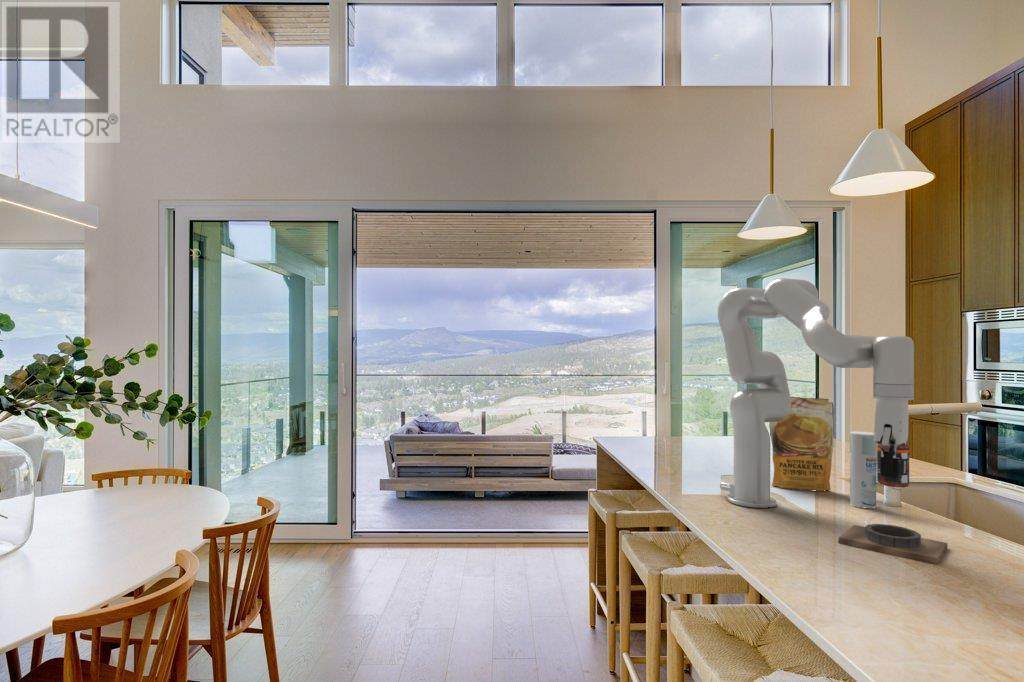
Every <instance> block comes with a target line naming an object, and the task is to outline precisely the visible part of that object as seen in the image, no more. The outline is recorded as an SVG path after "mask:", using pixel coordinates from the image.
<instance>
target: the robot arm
mask: <svg viewBox="0 0 1024 682" xmlns="http://www.w3.org/2000/svg"><path fill="white" fill-rule="evenodd" d="M830 313H831V312H830V307H829V305H827V304H826V303H825V302H824V301H822V300H821V299H819V291H818V289H817V287H816V285H814V283H812V282H811V281H808V280H805V279H800V278H799V279H796V278H787V277H786V278H785V277H783V278H777V279H773V280H772V281H771V282H768V284H767V285H766V287H765V288H758V287H757V288H756V287H736V288H732V289H730V290H729V291H727V292H725V293H724V294H723V296H722V297H721V299H720V300H719V303H718V307H717V319H718V324H719V328H720V330H721V333H722V336H723V341H724V348H725V353H726V359H727V363H728V371H729V373H730V377H731V379H732V380H733V382H735V383H737V384H739V385H757V387H758V388H746V389H741V390H739V391H737V392H736V393H734V394H733V396H732V397H731V399H730V403H729V404H730V405H729V407H730V408H729V409H730V415H731V420H732V428H733V482H731V483H728V482H723V481H721V482H720V484H719V489H720V490H721V491H726V492H728V493H729V494H728V495H727V501H728V502H730V503H731V504H734V505H737V506H741V507H747V508H755V509H767V508H768V507H769V508H774V507H776V506H777V500H776V498H774V497H772V496H771V435H770V431H768V427H767V426H766V423H769V422H776V421H781V420H784V419H785V418H786V417H787V416H788V415H789V413H790V410H791V398H790V397H791V395H790V390H789V389H790V388H789V384H788V383H789V382H788V377H787V373H786V369H785V366H784V363H783V361H782V359H781V358H780V357H779V356H778V355H777V354H776V353H774V352H772V351H768V350H767V351H766V350H759V347H758V343H757V337H756V334H755V332H754V330H753V328H752V326H751V325H750V323H749V322H748V321H747V319H748V318H749V319H776V318H781V317H783V318H785V319H786V320H787V321H788V322H790V323H792V324H793V326H795V327H796V328H798V329H799V330H800V331H801V335H802V338H803V340H804V342H805V344H806V345H807V347H808V348H809V349H810V350H812V352H814V353H815V354H816V355H817V356H819V358H821V359H823V360H824V361H825V362H826V363H828V364H830V365H832V366H834V367H836V368H840V369H854V368H855V369H871V368H872V398H873V399H876V402H875V403H876V405H875V414H874V432H873V433H874V442H875V443H877V445H878V443H881V442H882V449H881V475H882V476H887V477H895V478H897V477H898V476H899V459H897V449H898V445H901V444H902V443H904V442H905V443H907V442H908V440H909V439H908V438H909V401H913V400H914V399H915V398H914V397H915V395H914V393H915V389H914V387H915V384H914V383H915V382H914V380H915V379H914V376H915V371H914V370H915V367H914V366H915V361H914V360H915V347H914V345H915V344H914V341H913V339H912V337H909V336H906V335H901V336H900V335H885V336H884V335H882V336H874V335H873V336H872V335H859V334H855V335H853V334H844V333H842V332H841V331H839V330H838V329H837V328H835V327H834V326H832V325H831V324H830V323H829V322H828V321H827V320H828V318H829V316H830ZM882 435H883V438H882ZM890 441H892V442H895V444H892V443H890ZM892 447H893V448H894V449H892Z"/></svg>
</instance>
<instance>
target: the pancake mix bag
mask: <svg viewBox="0 0 1024 682" xmlns="http://www.w3.org/2000/svg"><path fill="white" fill-rule="evenodd" d="M790 398H791V410H790V413H789V415H788V416H787V417H786V418H785V419H784V420H781V421H776V422H768V423H769V435H770V442H771V447H772V449H771V450H772V463H773V478H772V483H771V487H775V486H778V487H777V488H779V487H781V488H780V489H785V488H788V489H787V490H795V489H802V490H801V491H808V490H816V491H815V492H819V491H824V490H831V491H832V488H831V483H830V479H831V475H832V474H831V473H832V472H831V471H832V463H833V461H832V460H833V453H834V452H833V451H834V445H835V443H834V438H835V418H834V416H835V415H834V413H835V409H834V402H832V401H830V399H829V398H823V397H822V398H819V397H818V398H817V397H816V398H815V397H813V398H812V397H801V396H790ZM824 492H825V491H824Z"/></svg>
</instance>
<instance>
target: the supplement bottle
mask: <svg viewBox="0 0 1024 682" xmlns="http://www.w3.org/2000/svg"><path fill="white" fill-rule="evenodd" d="M882 438H883V435H882ZM890 443H892V444H895V442H892V441H890ZM881 449H882V442H881V443H878V444H877V479H876V482H877V483H878V484H879V485H882V486H884V487H885V486H886V487H891V488H908V487H909V486H910V447H909V445H908V444H906V442H904V443H902V444H901V445H898V449H897V459H899V476H898V477H897V478H895V477H887V476H882V475H881ZM892 449H894V448H893V447H892Z"/></svg>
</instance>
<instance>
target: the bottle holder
mask: <svg viewBox="0 0 1024 682" xmlns="http://www.w3.org/2000/svg"><path fill="white" fill-rule="evenodd" d="M837 542H838V543H839V544H843V545H846V544H847V545H848V546H851V545H853V546H852V547H855V546H857V548H860V547H861V548H860V549H865V548H866V549H867V550H869V549H871V550H870V551H874V550H875V552H878V551H879V552H880V553H884V554H888V555H893V556H897V557H901V558H902V557H903V558H906V559H909V560H910V559H911V560H916V561H921V562H926V563H929V564H934V565H939V563H940V561H941V560H942V558H943V557H944V555H945V553H946V552H947V550H948V542H944V541H938V540H934V539H930V538H929V539H928V538H924V537H922V535H921V533H919V532H918V531H916V530H913V529H910V528H907V527H903V526H897V525H892V524H885V523H884V524H883V523H871V524H867V525H866V526H862V525H858V524H853V525H852V526H851V527H849V528H848V529H847V530H846V531H844V532H843V533H842V534H841V535H840V536H838V540H837Z"/></svg>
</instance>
